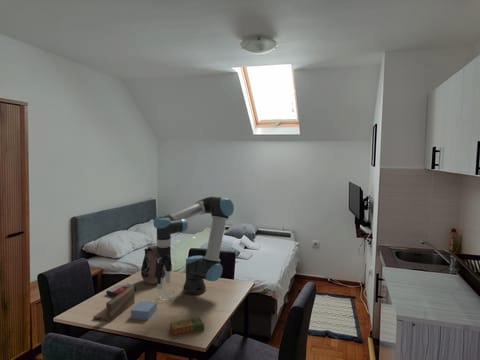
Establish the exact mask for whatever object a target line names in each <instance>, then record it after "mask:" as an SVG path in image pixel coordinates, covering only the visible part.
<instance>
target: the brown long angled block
mask: <svg viewBox="0 0 480 360" xmlns="http://www.w3.org/2000/svg"><path fill="white" fill-rule="evenodd" d="M105 304H106V306H105V308H104V309H103V310H101V311H100V312H99V311H98V313H96V314H95V315H93V320H94V321H102V322H110V323H111V322H113V321H114V320H115V319H117V318H118V317H120V315H122V314H123V313H124V312H125V311H126V310H128V309H129V308H131V307H132V306H133V305H134V304H135V291H134V287H129V288H127V289H126V290H124V291H123V292H122V293H120V294H119V295H117V296H116V297H112V298H111V299H110V300H108V301H107V302H106V303H105Z"/></svg>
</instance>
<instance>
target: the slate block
mask: <svg viewBox="0 0 480 360" xmlns="http://www.w3.org/2000/svg"><path fill="white" fill-rule="evenodd" d="M157 311H158V303H157V301H142V300H140V301H139V302H138V303H137V304H136V305H135V306H134V307H133V308H131V310H130V317H131V318H130V319H131V320H142V321H143V320H144V321H145V320H146V321H149V320H150V319H151V317H153V315H154V314H155V313H156V312H157Z"/></svg>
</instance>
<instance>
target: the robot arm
mask: <svg viewBox="0 0 480 360" xmlns="http://www.w3.org/2000/svg"><path fill="white" fill-rule="evenodd" d="M234 208H235V206H234V203H233V201H232V199H230V198H227V197H220V196H219V197H218V196H209V197H204V198H202V199H199V200H197V201H195V203H194V204H192V205H189V206H186V207H184V208H181V209H178V210H176V211H174V212H172V213H169V214H167V215H164V216H160V215H159V216H156V217H155V218H154V219H153V221H152V222H153V227H154V228H155V229H156V246H157V254H159V259H156V271H155V278H157V283H156V290H160V291H161V290H163V280H162V272H163V267H164V265H165V269H166V271H165V277H164V282H165V283H166V284H170V283H171V272H172V271H173V265H172V258H171V255H172V253H171V252H172V251H171V249H172V248H171V245H172V242H171V241H172V240H171V239H172V238H171V235H174V234H179V233H183V232H186V231H187V230H188V227H189V225H188V221H187V220H189V219H191V218H194V217H196V216H199V215H204V214H210V217H211V218H212V221H211V226H210V233H209V237H208V242H207V247H206V252H205V255H191V256H189V257H187V258H186V259H185V281H184V285H183V288H182V292H183V293H184V294H186V295H191V296H193V295H194V296H196V295H200V294H204V293H205V292H206V289H207V287H206V283H205V280H206V281H208V282H216V281H218V280H219V279H220V278H221V276H222V274H223V269H224V268H223V265H222V264H221V259H220V252H221V247H222V241H223V236H224V231H225V225H226V221H228V220H229V217H230V216H232V215H233V213H234V210H235V209H234ZM161 263H163V264H161Z"/></svg>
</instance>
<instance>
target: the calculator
mask: <svg viewBox="0 0 480 360" xmlns="http://www.w3.org/2000/svg"><path fill="white" fill-rule="evenodd" d="M129 287H134V292H135V291H137V289H136V288H137V286H136V285H135V284H131V283H128V282H123V283H120V284H118V285H115V286H114V287H111V288H108V289H107V290H106V296H108V297H111V298H114V297H116V296H117V295H119V294H120V293H122V292H123V291H124V290H126V289H127V288H129Z"/></svg>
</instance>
